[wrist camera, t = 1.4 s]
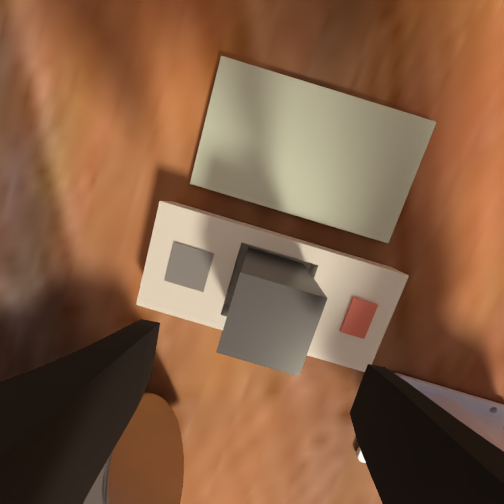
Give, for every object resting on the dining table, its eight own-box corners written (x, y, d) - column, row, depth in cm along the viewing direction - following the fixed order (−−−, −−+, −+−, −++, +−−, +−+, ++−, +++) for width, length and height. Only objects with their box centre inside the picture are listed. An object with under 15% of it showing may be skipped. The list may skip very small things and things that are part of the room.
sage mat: (430, 124, 17) (436, 121, 16) (384, 242, 18) (388, 243, 18) (222, 60, 17) (221, 55, 16) (192, 184, 18) (189, 183, 18)
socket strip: (390, 266, 19) (410, 276, 16) (355, 352, 20) (369, 375, 17) (173, 201, 19) (158, 200, 16) (151, 292, 20) (134, 305, 17)
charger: (303, 263, 18) (327, 298, 12) (285, 314, 19) (298, 376, 12) (248, 247, 18) (240, 272, 12) (233, 299, 19) (216, 352, 12)
